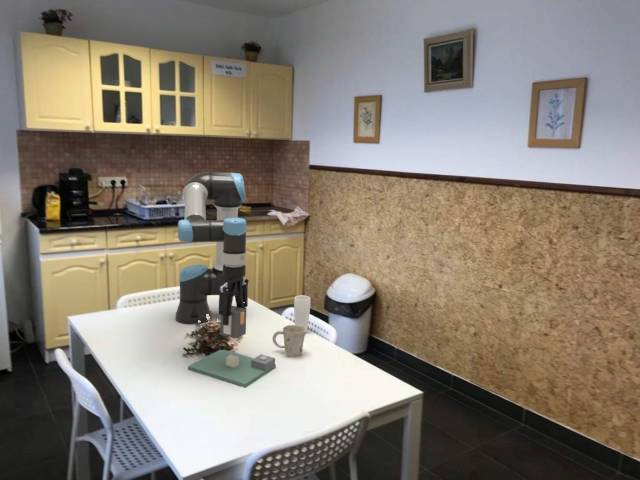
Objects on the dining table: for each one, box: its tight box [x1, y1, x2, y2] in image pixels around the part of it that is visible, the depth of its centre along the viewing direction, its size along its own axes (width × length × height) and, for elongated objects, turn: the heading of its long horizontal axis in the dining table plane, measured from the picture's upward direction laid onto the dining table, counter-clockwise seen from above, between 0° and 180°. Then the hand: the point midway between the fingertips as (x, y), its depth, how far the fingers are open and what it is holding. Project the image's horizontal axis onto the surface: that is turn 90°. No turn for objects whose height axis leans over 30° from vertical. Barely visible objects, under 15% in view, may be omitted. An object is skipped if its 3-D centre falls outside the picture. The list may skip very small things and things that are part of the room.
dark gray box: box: [219, 305, 247, 340], centre depth 175 cm, size 7×6×9 cm
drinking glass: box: [293, 294, 311, 334], centre depth 215 cm, size 7×7×15 cm
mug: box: [271, 324, 306, 358], centre depth 193 cm, size 8×13×10 cm, turn 78°
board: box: [187, 349, 277, 388], centre depth 178 cm, size 24×18×4 cm
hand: (233, 330), depth 176 cm, fingers closed on dark gray box, 6 cm apart
